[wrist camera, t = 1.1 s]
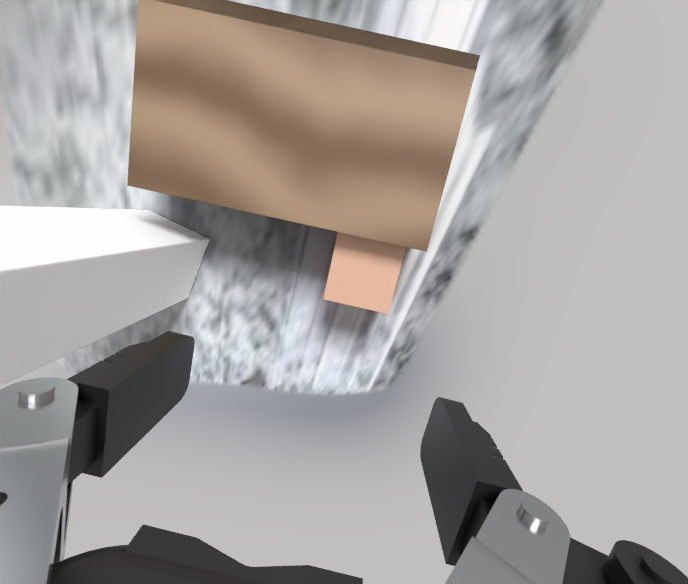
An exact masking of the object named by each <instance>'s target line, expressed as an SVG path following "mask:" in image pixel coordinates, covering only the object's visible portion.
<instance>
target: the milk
mask: <svg viewBox="0 0 688 584" xmlns="http://www.w3.org/2000/svg"><path fill="white" fill-rule="evenodd" d="M208 242H209V238H207V237H204V236H202V235H200V234H198V233H196V232H194V231H192V230H189V229H187V228H185V227H183V226H181V225H179V224H177V223H174V222H172V221H170V220H168V219H166V218H164V217H162V216H159V215H157V214H155V213H153V212H151V211H149V210H136V209H102V208H69V207H35V206H1V205H0V386H1V385H3V384H5V383H7V382H9V381H12V380H14V379H16V378H18V377H20V376H22V375H24V374H27V373H29V372H31V371H33V370H35V369H37V368H39V367H42V366H44V365H46V364H48V363H50V362H52V361H54V360H57V359H59V358H61V357H63V356H65V355H67V354H69V353H72V352H74V351H76V350H78V349H80V348H82V347H84V346H86V345H89V344H91V343H93V342H95V341H97V340H99V339H101V338H104V337H106V336H108V335H110V334H112V333H114V332H116V331H118V330H121V329H123V328H125V327H127V326H129V325H131V324H133V323H136V322H138V321H140V320H142V319H144V318H146V317H148V316H150V315H153V314H155V313H157V312H159V311H161V310H163V309H165V308H168V307H170V306H172V305H174V304H176V303H178V302H180V301H183V300H185V299H187V298H188V297H189V295H190V292H191V289H192V286H193V284H194V281H195V278H196V275H197V273H198V270H199V267H200V264H201V262H202V259H203V256H204V253H205V251H206V248H207V245H208Z"/></svg>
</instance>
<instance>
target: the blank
mask: <svg viewBox="0 0 688 584" xmlns="http://www.w3.org/2000/svg"><path fill="white" fill-rule="evenodd" d="M405 250H406V247H404V246H400V245H395V244H391V243H386V242H382V241H377V240H373V239H368V238H364V237H359V236H355V235H350V234H346V233H341V232H338V233H337V238H336V242H335V247H334V252H333V256H332V261H331V266H330V270H329V275H328V279H327V284H326V289H325V293H324V298H323V299H324V300H329V301H333V302H337V303H342V304H346V305H350V306H355V307H359V308H364V309H368V310H372V311H377V312H381V313H385V314H389V310H390V306H391V302H392V299H393V295H394V291H395V287H396V284H397V280H398V276H399V272H400V269H401V265H402V261H403V257H404V253H405Z"/></svg>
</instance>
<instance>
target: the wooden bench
mask: <svg viewBox="0 0 688 584" xmlns="http://www.w3.org/2000/svg"><path fill="white" fill-rule="evenodd" d="M479 57H480V56H479V55H475V54H470V53H466V52H461V51H457V50H452V49H447V48H443V47H438V46H434V45H429V44H424V43H420V42H415V41H411V40H406V39H401V38H397V37H392V36H388V35H383V34H379V33H374V32H369V31H365V30H360V29H356V28H351V27H346V26H342V25H337V24H333V23H328V22H323V21H319V20H314V19H310V18H305V17H301V16H296V15H291V14H287V13H282V12H278V11H273V10H268V9H264V8H259V7H255V6H250V5H245V4H241V3H236V2H232V1H227V0H139V3H138V19H137V36H136V53H135V69H134V86H133V102H132V119H131V135H130V152H129V168H128V186H133V187H137V188H142V189H146V190H151V191H155V192H160V193H164V194H169V195H173V196H178V197H182V198H187V199H192V200H196V201H201V202H205V203H210V204H214V205H219V206H223V207H228V208H232V209H237V210H241V211H246V212H250V213H255V214H260V215H264V216H269V217H273V218H278V219H282V220H287V221H291V222H296V223H300V224H305V225H309V226H314V227H318V228H323V229H327V230H332V231H337V232H341V233H346V234H350V235H355V236H359V237H364V238H368V239H373V240H377V241H382V242H386V243H391V244H395V245H400V246H404V247H409V248H414V249H418V250H423V251H427V248H428V245H429V241H430V237H431V234H432V230H433V226H434V223H435V219H436V215H437V212H438V208H439V204H440V200H441V197H442V193H443V189H444V186H445V182H446V178H447V175H448V171H449V167H450V164H451V160H452V156H453V153H454V149H455V145H456V142H457V138H458V134H459V131H460V127H461V123H462V120H463V116H464V112H465V108H466V105H467V101H468V97H469V94H470V90H471V86H472V83H473V79H474V75H475V72H476V68H477V64H478V61H479Z"/></svg>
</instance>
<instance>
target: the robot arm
mask: <svg viewBox="0 0 688 584" xmlns="http://www.w3.org/2000/svg"><path fill="white" fill-rule="evenodd" d="M193 351H194V338H193V337H191V336H187V335H183V334H179V333H175V332H171V331H168V332H166V333H164V334H162V335H160V336H159V337H157V338H155V339H153V340H152V341H150V342H143V343H139V344H135V345H131V346H128V347H126V348H125V349H123V350H121V351H119V352H117V353H116V354H115V355H112V356H110V357H108V358H106V359H104V361H100V362H98V363H97V364H95V365H93V366H91V367H89V368H87V369H85V370H84V371H82V372H80V373H78V374H76V375H74V376H72V377H70V378H69V379H67V380H65V379H60V378H37V379H30V380H26V381H21V382H18V383H15V384H12V385H9V386H7V387H5V388H3V389H1V390H0V584H363V579H362V578H358V577H354V576H350V575H346V574H341V573H337V572H334V571H330V570H325V569H321V568H317V567H313V566H309V565H303V566H271V567H249V566H245V565H243V564H241V563H239V562H237V561H236V560H234V559H232V558H231V557H229V556H227V555H226V554H224V553H222V552H220V551H219V550H217V549H215V548H213V547H212V546H210V545H208V544H207V543H205V542H203V541H201V540H200V539H198V538H195V537H191V536H187V535H183V534H179V533H175V532H171V531H167V530H163V529H159V528H155V527H151V526H147V525H143V526H142V527H141V528H140V529H139V531H138V532H137V534H136V535H135V536H134V538H133V539H132V541H131V542H130V544H129V545H120V546H113V547H106V548H101V549H96V550H93V551H88V552H85V553H82V554H79V555H76V556H73V557H70V558H67V559H65V560H64V554H65V545H66V537H67V529H68V520H69V512H70V503H71V496H72V484H73V480H74V479H75V478H76V477H77V476H79V475H80V474H81V473H85V474H89V475H93V476H97V477H103V476H104V475H105V474H106V473H107V472H108V471H109V470H110V469H111V468H112V467H113V466H114V465H115V464H116V463H117V462H118V461H119V460H120V459H121V458H122V457H123V456H124V455H125V454H126V453H127V452H128V451H129V450H130V449H131V448H133V446H135V445H136V444H137V443H138V442H139V441H140V440H141V439H142V438H143V437H144V436H145V435H146V434H147V433H148V432H149V431H150V430H151V429H152V428H153V427H154V426H155V425H156V424H157V423H158V422H159V421H160V420H161V419H162V418H163V417H164V416H165V415H166V414H167V413H168V412H169V411H170V410H171V409H172V408H173V407H174V406H175V405H176V404H177V403H178V402H179V401H180V400H181V399H182V397H183V396H184V394H185V392H186V390H187V387H188V384H189V379H190V372H191V365H192V358H193ZM420 455H421V462H422V466H423V471H424V474H425V479H426V483H427V487H428V491H429V496H430V500H431V504H432V508H433V512H434V516H435V520H436V525H437V528H438V533H439V537H440V541H441V545H442V549H443V553H444V558H445V562H446V564H449V565H454V566H455V567H454V569H453V571H452V572H451V574H450V576H449V578H448V579H447V581H446V583H445V584H688V578H687V577H686V576H685V575H684V574H683V573H682V572H681V571H680V570H679V569H677V568H676V567H675V566H674V565H672V564H671V563H670V562H669V561H667V560H666V559H664V558H663V557H661V556H660V555H658V554H657V553H655V552H653V551H652V550H650V549H648V548H646V547H644V546H641V545H639V544H637V543H634V542H631V541H626V540H621V541H618V542H616V543H615V545H614V547H613V549H612V551H611V553H610V555H609V556H607V555H605V554H603V553H601V552H599V551H597V550H595V549H593V548H590V547H589V546H586V545H584V544H582V543H580V542H578V541H576V540H574V539H572V538H570V533H569V530H568V528H567V526H566V525H565V523H564V522H563V520H562V519H561V518H560V517H559V516H558V514H557V513H556V512H555V511H554V510H553V509H551V508H550V507H549V506H548V505H547V504H545V503H544V502H542V501H541V500H539V499H538V498H536V497H534V496H533V495H530V494H529V493H526V492H524V491H523V490H522V488H521V487H520V485H519V483H518V481H517V480H516V478H515V477H514V475H513V473H512V471H511V470H510V468H509V466H508V465H507V463H506V461H505V460H503V456H502V454H501V453H500V451H499V449H497V446H496V444H495V443H494V441H493V439H492V438H491V436H490V434H489V433H488V432H487V431H486V430H484V429H483V428H482V427H481V426H480V425H479V424H478V423H477V422H473V421H472V419H471V417H470V416H469V414H468V412H467V410H466V408H465V406H464V405H463V403H461V402H457V401H453V400H448V399H445V398H440V397H438V398H437V399H436V400H435V403H434V405H433V408H432V411H431V414H430V417H429V421H428V423H427V426H426V429H425V433H424V436H423V439H422V443H421V454H420Z"/></svg>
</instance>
